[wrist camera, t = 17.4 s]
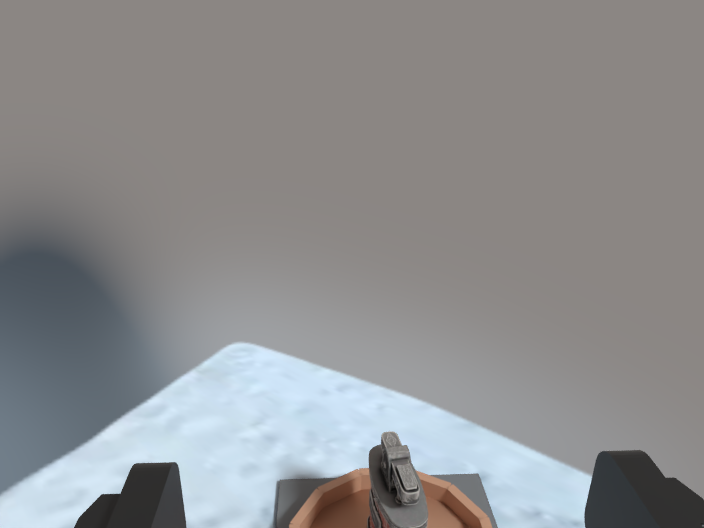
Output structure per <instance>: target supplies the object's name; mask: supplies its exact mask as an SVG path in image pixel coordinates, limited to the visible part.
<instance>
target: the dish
mask: <svg viewBox="0 0 704 528" xmlns="http://www.w3.org/2000/svg"><path fill="white" fill-rule="evenodd" d="M415 471H416V470H415ZM416 472H417V474H418V476H419V478H420V481H421V484H422V487H423V490H424V493H425V496H426V502H427V508H428V523H427V527H426V528H492V525H491V522H490V519H489V517H488V515H486V514H485V513H484V512H483V511H482V510H481V509H480V508H479V507H478V506H477V505H475V504H474V503H473V502H472V501H471V500H470V499H469V498H468V497H467V496H466V495H465V494H463V493H462V492H461V491H460V490H459V489H458V488H457V487H456V486H455V485H454V484H452V485H451V483H450V482H447V481H444V480H441V479H438V478H436V477H433V476H430V475H427V474H424V473H421V472H419V471H416ZM370 489H371V481H370V476H369V468H361V469H359V470H358V469H356V470H354V471H352V472H350V473H348V474H345V475H343V476H341V477H339V478H337V479H335V480H332V481H330V482H328V483H326V484H324V485H321V486H319V487H317V489H315V490H314V492H313V493H312V494H311V496H310V497H309V498H308V500H307V501H306V502H305V504H304V505H303V506H302V507H301V509H300V510H299V511H298V513H297V514H296V515H295V517H294V518H293V519H292V521H291V522H290V524H289V528H367V518H368V516H369V515H370V507H369V491H370Z"/></svg>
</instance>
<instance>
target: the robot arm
mask: <svg viewBox="0 0 704 528" xmlns="http://www.w3.org/2000/svg"><path fill="white" fill-rule="evenodd" d="M585 527H586V528H704V500H703V499H702V498H701V497H700V496H699V495H697V494H696V493H694V492H693V491H692V490H691V489H689V488H688V487H687V486H685V485H684V484H682V483H681V482H680V481H678V480H677V479H676V478H665V477H664V475H663V474H662V473H661V471H660V470H659V469H658V467H657V466H656V465H655V463H654V462H653V461H652V460H651V458H650V457H649V456H648V455H647V454H646V453H645V452H643V451H641V450H632V451H602V452H601V453H599V454H598V456H597V459H596V463H595V467H594V472H593V476H592V481H591V485H590V490H589V494H588V499H587V503H586V508H585ZM74 528H186V520H185V512H184V504H183V497H182V489H181V481H180V474H179V468H178V465H177V463H175V462H171V463H136V464H134V465H133V466H132V468H131V470H130V472H129V474H128V477H127V479H126V482H125V484H124V487H123V489H122V491H121V494H102V495H101V496H100V497H99V498H98V499H97V500H96V501H95V502H94V503H93V504H92V505H91V506H90V507H89V508H88V509H87V510H86V511H85V512H84V513H83V514H82V515H81V516H80V517H79V519H78V521H77V523H76V525H75V527H74Z"/></svg>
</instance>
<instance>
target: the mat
mask: <svg viewBox="0 0 704 528" xmlns="http://www.w3.org/2000/svg"><path fill="white" fill-rule="evenodd" d="M430 476H433V477H436V478H438V479H441V480H444V481H447V482H450V483H451V485H452V484H454V485H455V486H456V487H457V488H458V489H459V490H460V491H461V492H462V493H463V494H465V495H466V496H467V497H468V498H469V499H470V500H471V501H472V502H473V503H474V504H475V505H477V506H478V507H479V508H480V509H481V510H482V511H483V512H484V513H485V514H486V515H488V517H489V519H490V522H491V525H492V528H498V527H497V524H496V521H495V519H494V516H493V513H492V510H491V507H490V505H489V502H488V499H487V496H486V493H485V491H484V488H483V485H482V482H481V479H480V477H479V474H451V475H430ZM335 479H337V478H323V479H290V480H280V485H279V497H278V510H277V522H276V528H289V524H290V522H291V521H292V519H293V518H294V517H295V515H296V514H297V513H298V511H299V510H300V509H301V507H302V506H303V505H304V504H305V502H306V501H307V500H308V498H309V497H310V496H311V494H312V493H313V492H314V490H315V489H317V487H319V486H321V485H324V484H326V483H328V482H330V481H332V480H335Z"/></svg>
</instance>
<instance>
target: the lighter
mask: <svg viewBox="0 0 704 528" xmlns="http://www.w3.org/2000/svg"><path fill="white" fill-rule="evenodd" d="M369 476H370V481H371V489H370V491H369V507H370V515H369V516H368V518H367V528H426V527H427V523H428V508H427V502H426V496H425V493H424V490H423V487H422V484H421V481H420V478H419V476H418V474H417V472H416V471H415V469H414V467H413V465H412V463H411V459H410V453H409V449H408V447H407V445H404V446H402V444H401V442H400V439H399V437H398V435H397V433H395V432H384V433H383V434H382V437H381V445H377V446H375V447H373V448H372V449H371V450H370V452H369Z"/></svg>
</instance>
